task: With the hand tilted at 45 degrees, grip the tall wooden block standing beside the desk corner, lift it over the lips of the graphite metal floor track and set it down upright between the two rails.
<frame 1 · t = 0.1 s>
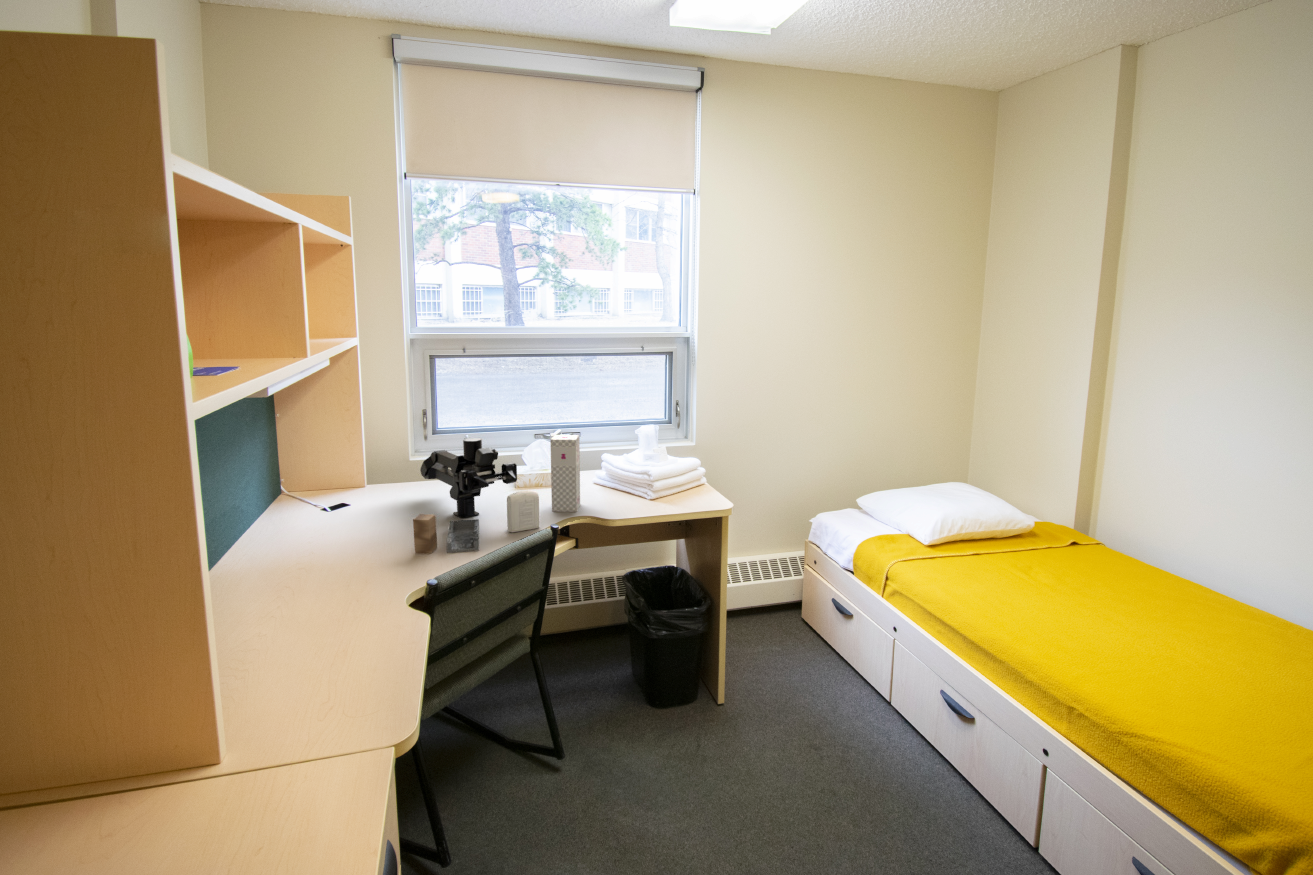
hand: (502, 482, 206), 17 cm above the table, tool horizontal, fingers open, 9 cm apart
box: (566, 508, 237), on the table
floor track: (464, 539, 205), on the table
wooden tall block: (426, 550, 196), on the table
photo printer: (523, 529, 215), on the table
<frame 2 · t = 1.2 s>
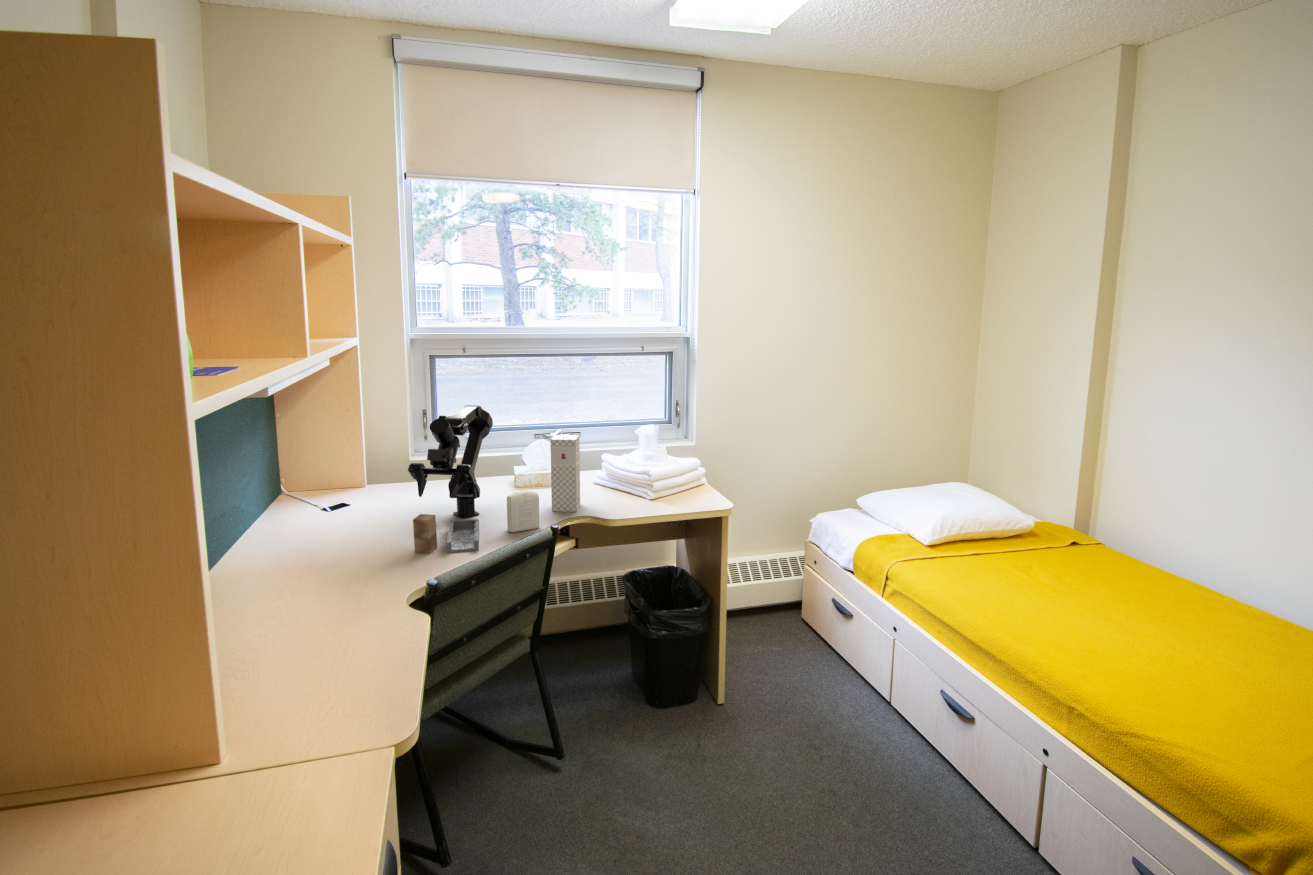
hand: (435, 496, 201), 14 cm above the table, tool tilted 45°, fingers open, 9 cm apart
nothing on the table moved.
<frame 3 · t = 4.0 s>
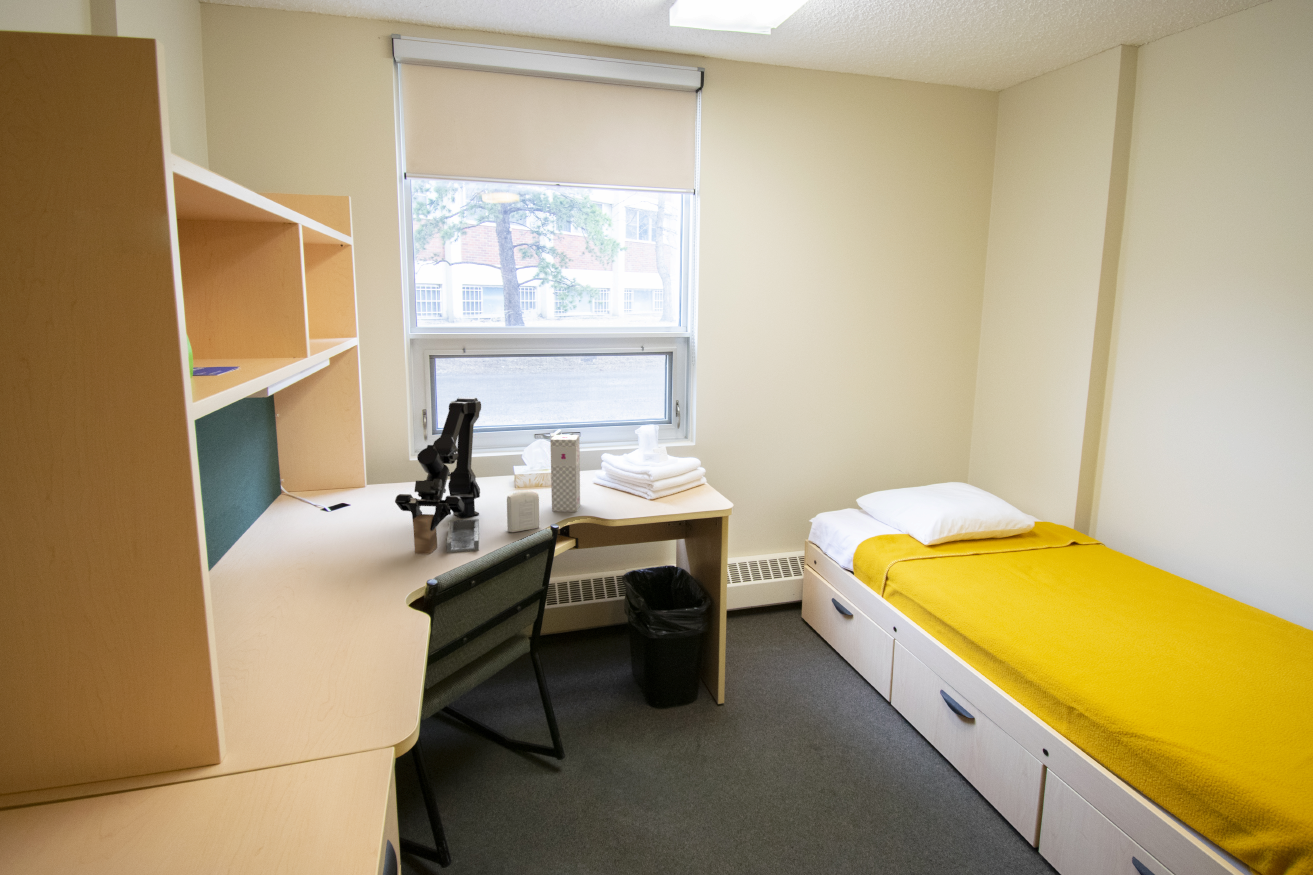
hand: (422, 529, 193), 7 cm above the table, tool tilted 45°, fingers closed on wooden tall block, 4 cm apart
wooden tall block: (426, 550, 196), on the table, touching gripper
everything else where it was.
when the fingers open (8 cm above the table, at t = 8.6 s): wooden tall block stays where it is, resting on floor track.
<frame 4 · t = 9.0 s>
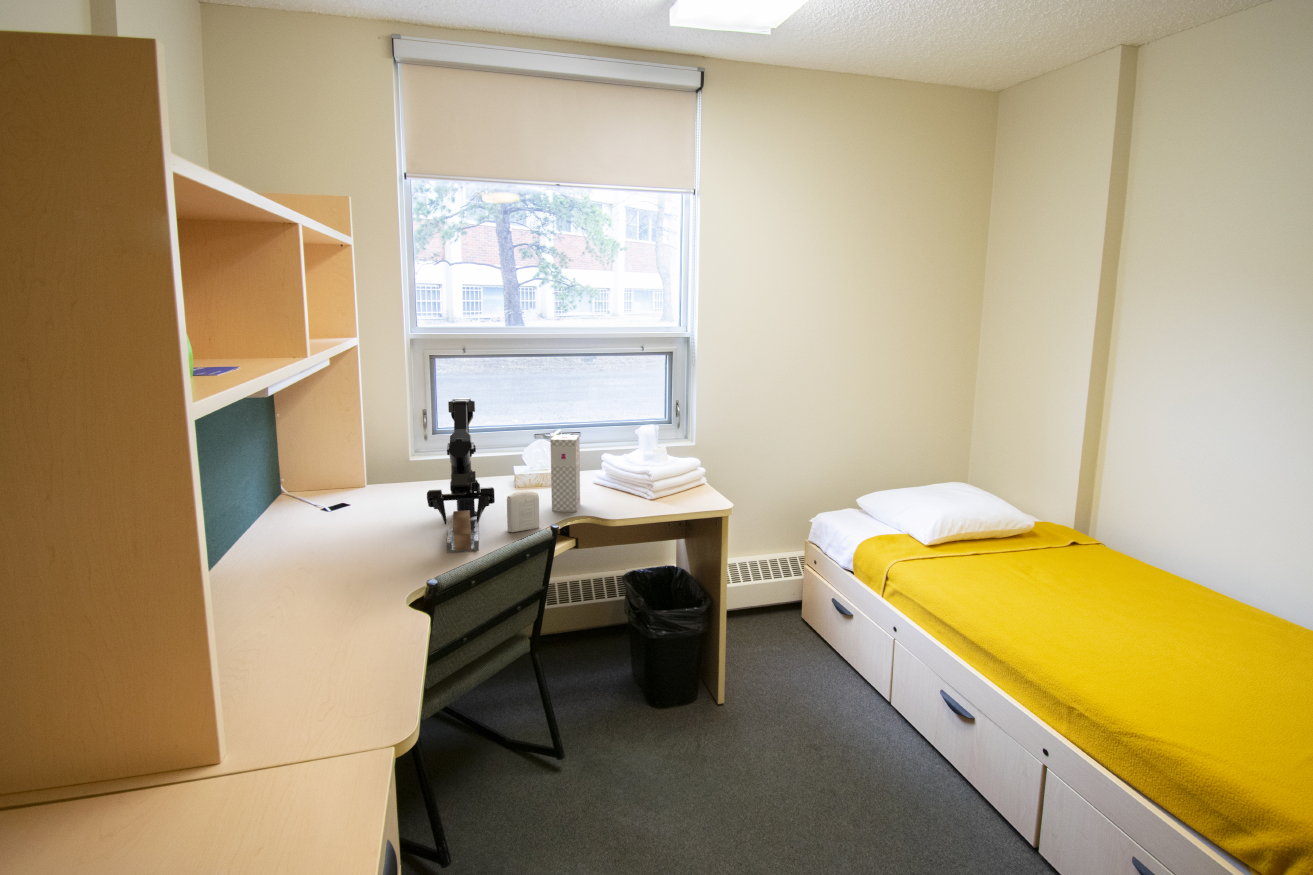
hand: (461, 523, 194), 8 cm above the table, tool tilted 45°, fingers open, 8 cm apart
wooden tall block: (463, 546, 197), point 1 cm above the table, touching floor track
everything else where it was.
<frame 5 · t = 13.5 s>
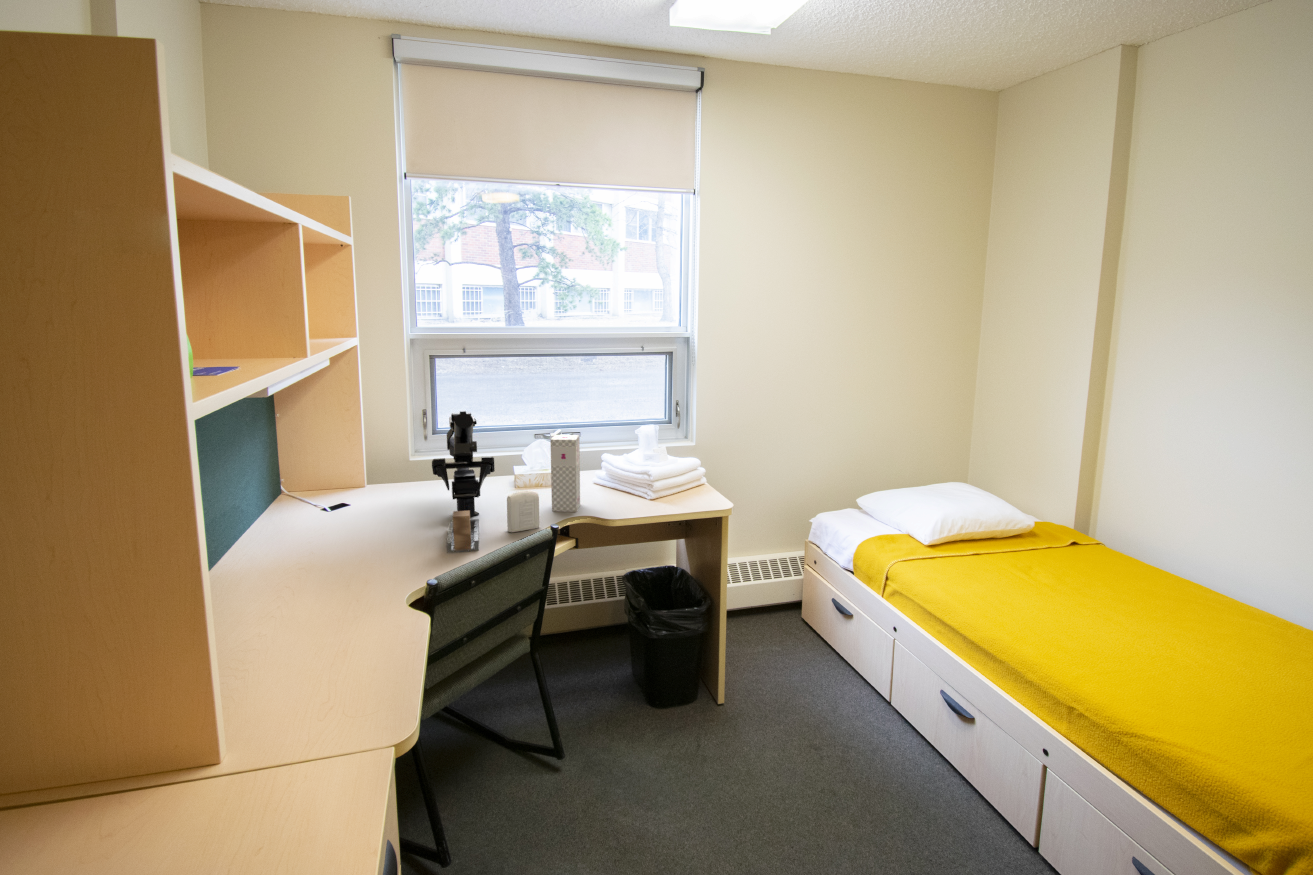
hand: (464, 489, 210), 14 cm above the table, tool tilted 45°, fingers open, 9 cm apart
nothing on the table moved.
at the end: wooden tall block 0.0 cm from the target spot, point 0.8 cm above the table; wooden tall block tilted 0°; wooden tall block touching floor track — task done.
